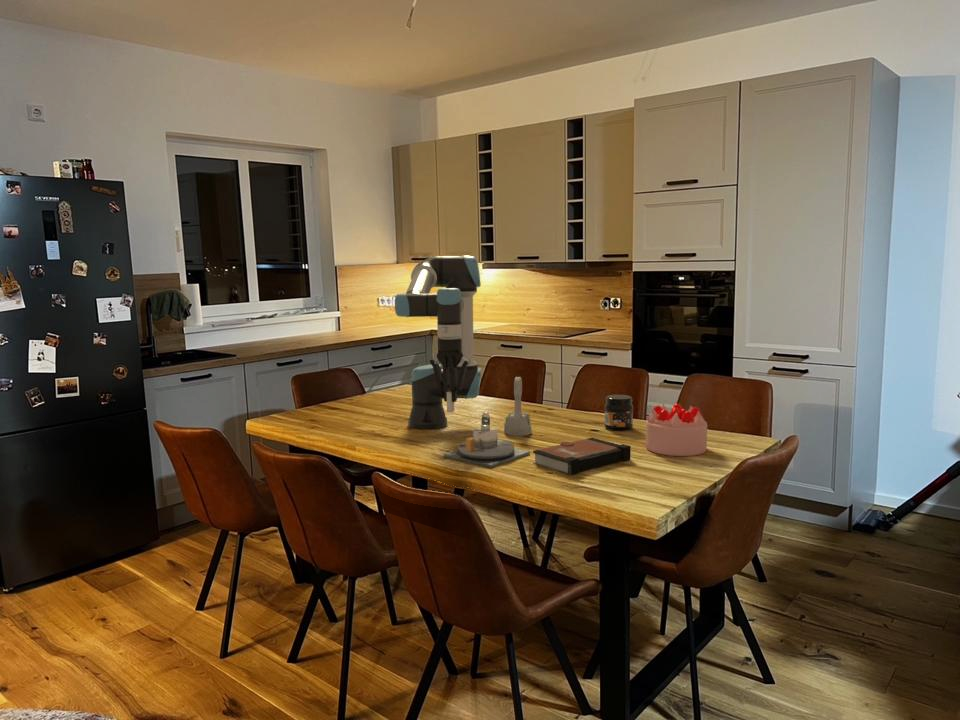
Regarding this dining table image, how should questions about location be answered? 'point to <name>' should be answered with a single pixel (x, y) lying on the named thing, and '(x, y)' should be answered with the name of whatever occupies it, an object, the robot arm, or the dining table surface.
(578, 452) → the book
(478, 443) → the cover
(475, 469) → the dining table surface
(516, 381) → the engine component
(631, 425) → the supplement container
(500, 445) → the turntable
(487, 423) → the stand
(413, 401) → the robot arm
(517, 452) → the base plate
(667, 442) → the cake
